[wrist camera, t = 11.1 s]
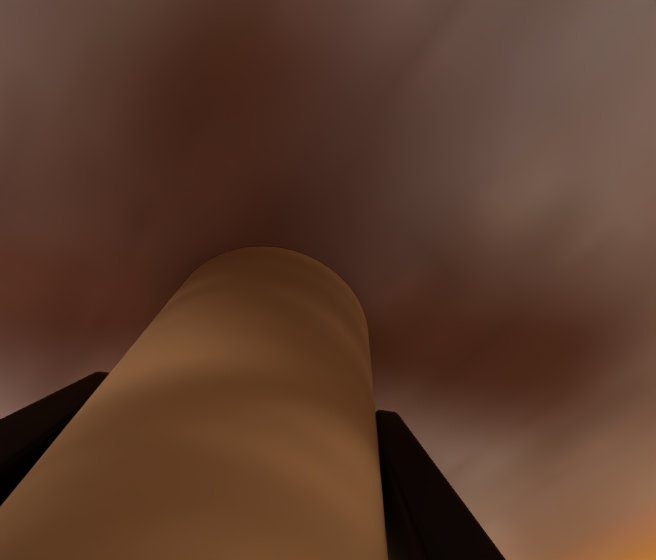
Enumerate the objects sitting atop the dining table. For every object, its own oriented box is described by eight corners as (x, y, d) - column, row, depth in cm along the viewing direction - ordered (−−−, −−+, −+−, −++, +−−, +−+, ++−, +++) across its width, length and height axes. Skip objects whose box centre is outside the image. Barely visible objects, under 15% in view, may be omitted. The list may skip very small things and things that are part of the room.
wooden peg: (386, 263, 10) (576, 1126, 2) (351, 428, 12) (359, 1170, 4) (168, 231, 10) (-746, 990, 2) (171, 403, 12) (-221, 1117, 4)
